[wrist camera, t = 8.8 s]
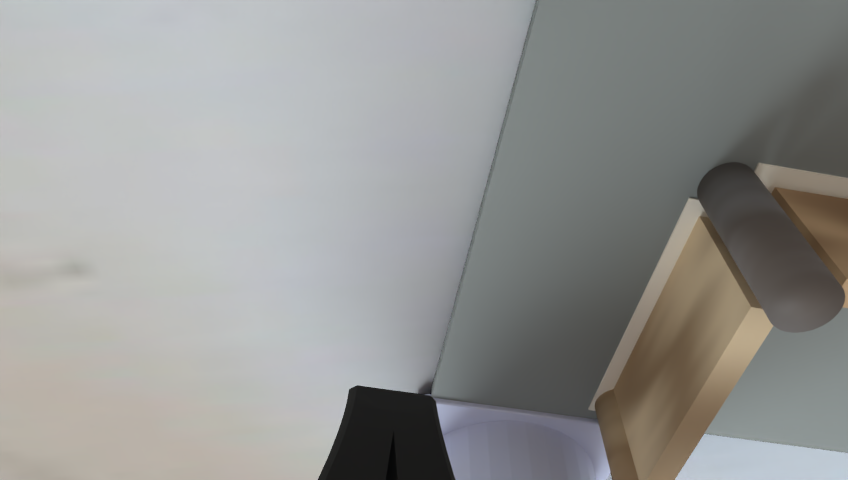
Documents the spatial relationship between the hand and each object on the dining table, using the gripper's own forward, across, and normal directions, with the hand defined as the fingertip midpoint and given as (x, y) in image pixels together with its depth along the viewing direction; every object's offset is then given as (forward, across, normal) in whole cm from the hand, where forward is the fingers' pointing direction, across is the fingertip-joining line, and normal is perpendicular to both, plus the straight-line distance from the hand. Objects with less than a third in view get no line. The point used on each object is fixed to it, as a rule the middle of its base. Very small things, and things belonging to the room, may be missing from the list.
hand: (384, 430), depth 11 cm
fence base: (+9, -9, +3) cm, 13 cm away
